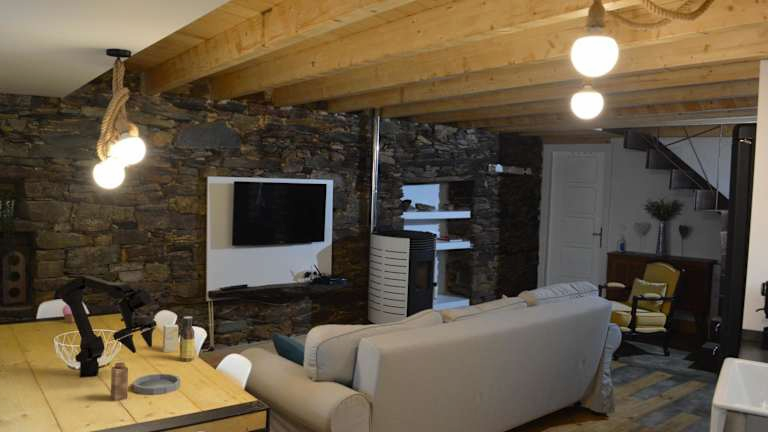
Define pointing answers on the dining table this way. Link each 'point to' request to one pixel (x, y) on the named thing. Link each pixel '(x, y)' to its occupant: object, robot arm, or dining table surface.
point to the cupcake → (68, 314)
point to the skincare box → (170, 338)
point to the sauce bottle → (187, 340)
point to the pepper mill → (119, 382)
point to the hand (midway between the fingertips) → (143, 349)
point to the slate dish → (156, 384)
